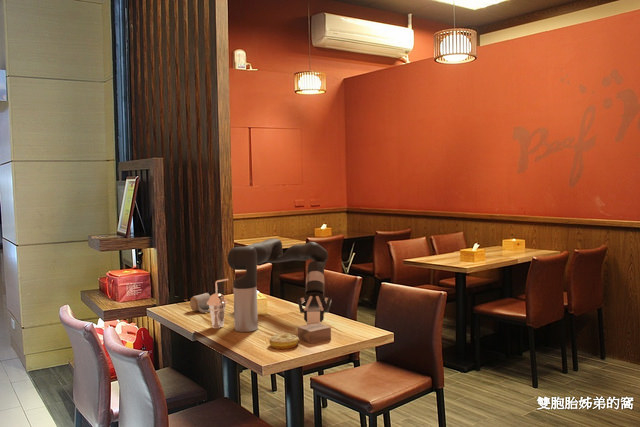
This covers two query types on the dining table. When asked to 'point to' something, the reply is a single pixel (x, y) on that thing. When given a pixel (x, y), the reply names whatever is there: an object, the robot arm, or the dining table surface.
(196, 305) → the ceramic mug
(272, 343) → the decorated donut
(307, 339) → the walnut block
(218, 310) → the cup with straw
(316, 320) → the canister
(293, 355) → the dining table surface
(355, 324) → the dining table surface
